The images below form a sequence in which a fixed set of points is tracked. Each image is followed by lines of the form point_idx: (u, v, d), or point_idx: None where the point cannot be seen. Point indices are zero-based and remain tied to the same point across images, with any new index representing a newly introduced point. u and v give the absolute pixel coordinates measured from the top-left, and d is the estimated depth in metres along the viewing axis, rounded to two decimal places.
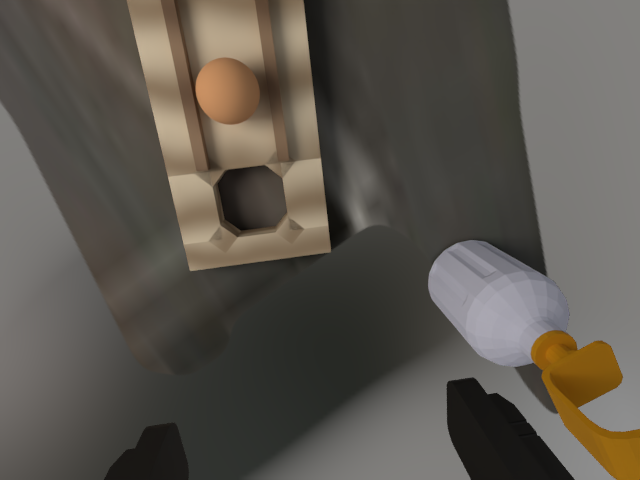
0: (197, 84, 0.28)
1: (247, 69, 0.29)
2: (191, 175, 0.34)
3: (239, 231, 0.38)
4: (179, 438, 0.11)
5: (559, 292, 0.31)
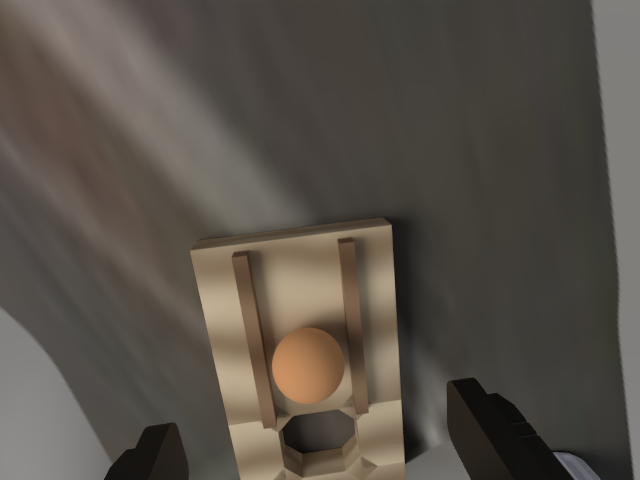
0: (277, 372, 0.24)
1: (334, 351, 0.25)
2: (255, 423, 0.30)
3: (301, 458, 0.34)
4: (179, 438, 0.11)
5: None
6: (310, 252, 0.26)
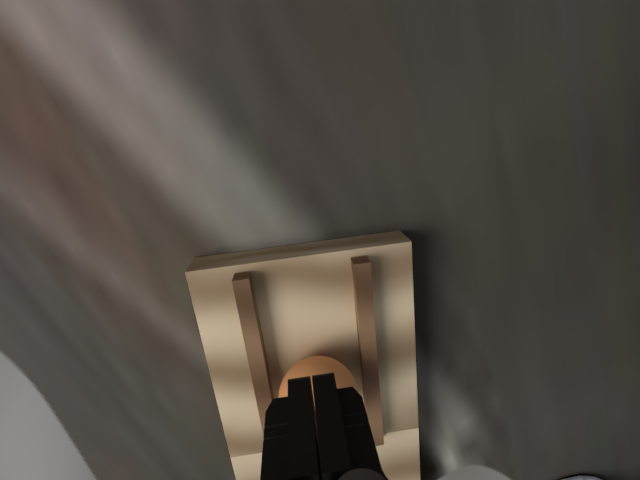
0: None
1: (348, 385, 0.22)
2: (259, 454, 0.27)
3: None
4: None
5: None
6: (320, 272, 0.23)
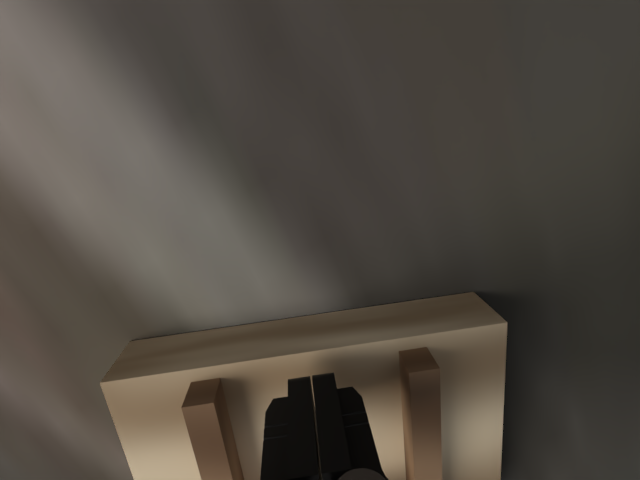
0: None
1: None
2: None
3: None
4: None
5: None
6: (345, 376, 0.13)
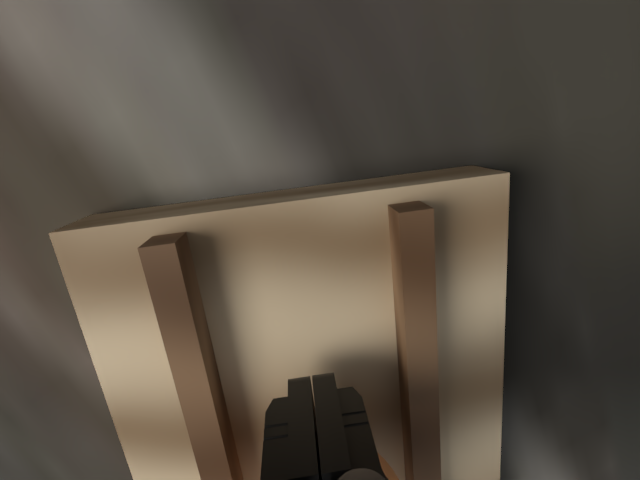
0: None
1: None
2: None
3: None
4: None
5: None
6: (328, 235, 0.12)
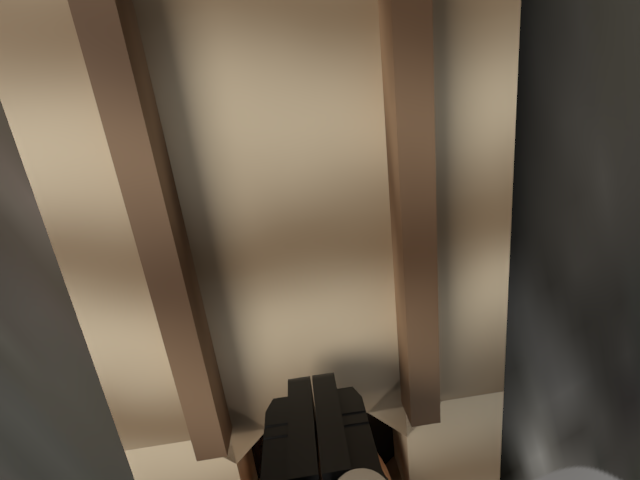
0: None
1: None
2: (183, 444, 0.13)
3: None
4: None
5: None
6: None
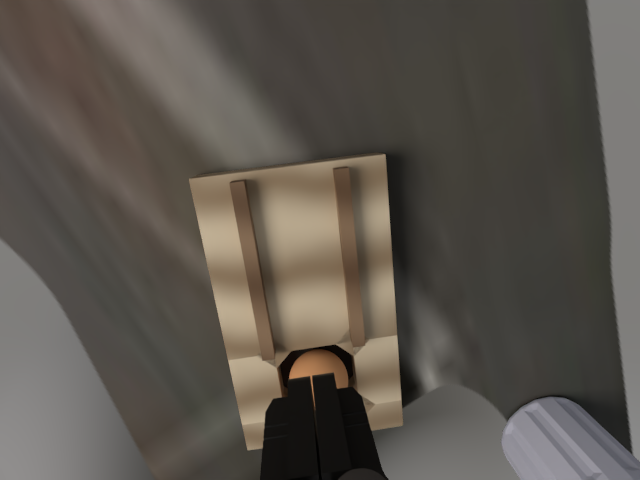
0: None
1: None
2: (254, 357, 0.30)
3: None
4: None
5: None
6: (306, 181, 0.27)
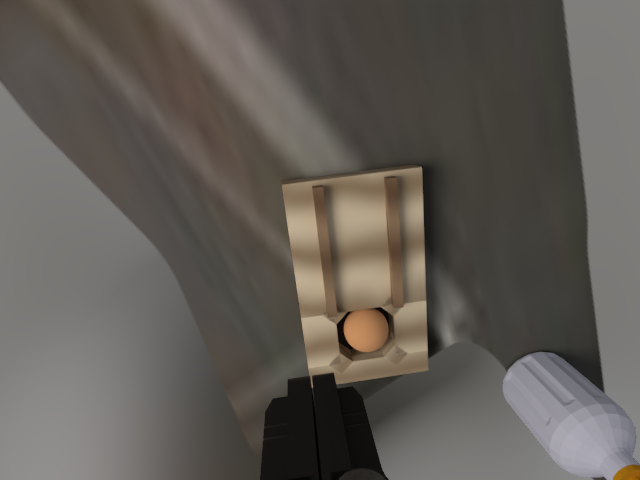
0: None
1: None
2: (320, 316, 0.41)
3: (349, 351, 0.45)
4: None
5: (629, 422, 0.38)
6: (365, 186, 0.37)
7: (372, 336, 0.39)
